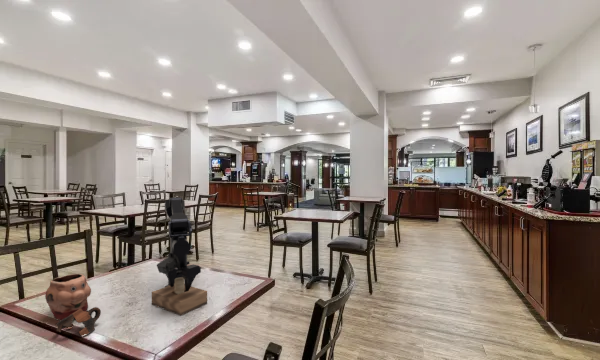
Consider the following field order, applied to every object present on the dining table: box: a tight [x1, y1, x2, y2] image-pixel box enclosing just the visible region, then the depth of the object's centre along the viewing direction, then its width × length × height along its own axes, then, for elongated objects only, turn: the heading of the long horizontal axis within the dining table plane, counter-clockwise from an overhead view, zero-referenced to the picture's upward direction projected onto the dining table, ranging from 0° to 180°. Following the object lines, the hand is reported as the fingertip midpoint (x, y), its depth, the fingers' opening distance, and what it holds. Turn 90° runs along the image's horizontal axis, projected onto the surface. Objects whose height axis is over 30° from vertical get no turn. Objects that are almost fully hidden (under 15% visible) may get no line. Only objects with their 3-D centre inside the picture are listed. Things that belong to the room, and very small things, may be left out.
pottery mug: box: [55, 306, 102, 336], centre depth 96 cm, size 12×10×8 cm
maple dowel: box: [175, 277, 185, 294], centre depth 116 cm, size 4×4×9 cm
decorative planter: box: [44, 273, 92, 321], centre depth 107 cm, size 20×12×14 cm, turn 66°
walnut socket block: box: [151, 283, 208, 316], centre depth 116 cm, size 18×12×5 cm, turn 58°
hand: (179, 289), depth 116 cm, fingers open, 9 cm apart
